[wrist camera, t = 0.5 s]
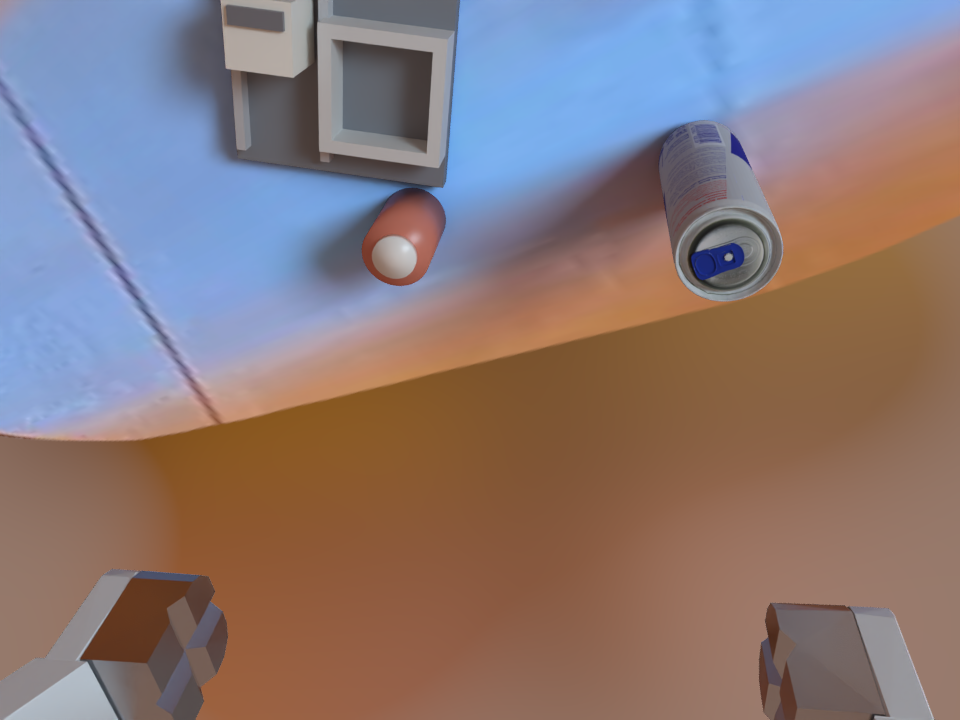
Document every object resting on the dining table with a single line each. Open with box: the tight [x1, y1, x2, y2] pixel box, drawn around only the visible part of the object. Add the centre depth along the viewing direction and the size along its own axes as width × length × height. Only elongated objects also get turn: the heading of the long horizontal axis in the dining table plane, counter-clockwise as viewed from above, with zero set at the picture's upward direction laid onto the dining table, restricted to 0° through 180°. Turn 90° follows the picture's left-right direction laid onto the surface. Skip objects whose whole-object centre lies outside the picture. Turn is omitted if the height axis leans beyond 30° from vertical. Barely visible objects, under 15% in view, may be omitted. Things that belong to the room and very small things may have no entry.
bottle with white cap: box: [362, 188, 446, 286], centre depth 53 cm, size 4×4×7 cm
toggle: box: [221, 0, 314, 78], centre depth 46 cm, size 4×4×4 cm
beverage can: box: [659, 120, 783, 301], centre depth 44 cm, size 5×5×15 cm
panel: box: [231, 0, 460, 188], centre depth 47 cm, size 20×14×4 cm
